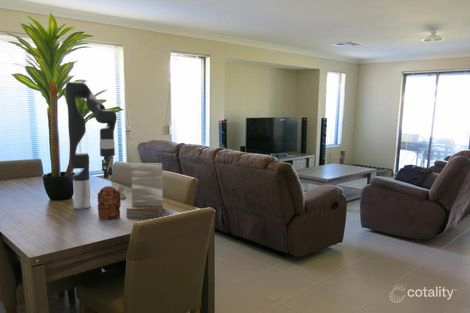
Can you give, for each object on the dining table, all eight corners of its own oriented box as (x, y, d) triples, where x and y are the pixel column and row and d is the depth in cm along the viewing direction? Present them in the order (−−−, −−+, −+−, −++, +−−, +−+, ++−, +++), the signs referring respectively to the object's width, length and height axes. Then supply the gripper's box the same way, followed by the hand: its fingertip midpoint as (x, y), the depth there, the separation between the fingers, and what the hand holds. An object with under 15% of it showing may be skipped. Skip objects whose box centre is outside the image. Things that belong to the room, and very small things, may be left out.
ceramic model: (104, 196, 249) (104, 182, 247) (119, 193, 257) (119, 179, 255) (115, 200, 239) (114, 185, 238) (130, 197, 247) (129, 183, 246)
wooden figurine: (98, 221, 196) (97, 188, 193) (98, 217, 201) (97, 186, 199) (121, 218, 200) (120, 187, 198) (120, 215, 206) (119, 184, 204)
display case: (132, 208, 220) (131, 163, 216) (162, 208, 222) (162, 163, 218) (126, 217, 203) (125, 168, 199) (159, 217, 204) (158, 168, 200)
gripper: (103, 145, 202) (104, 174, 204) (96, 148, 188) (97, 179, 190) (117, 145, 203) (118, 174, 205) (111, 148, 189) (112, 179, 191)
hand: (108, 176), depth 198 cm, fingers open, 8 cm apart
